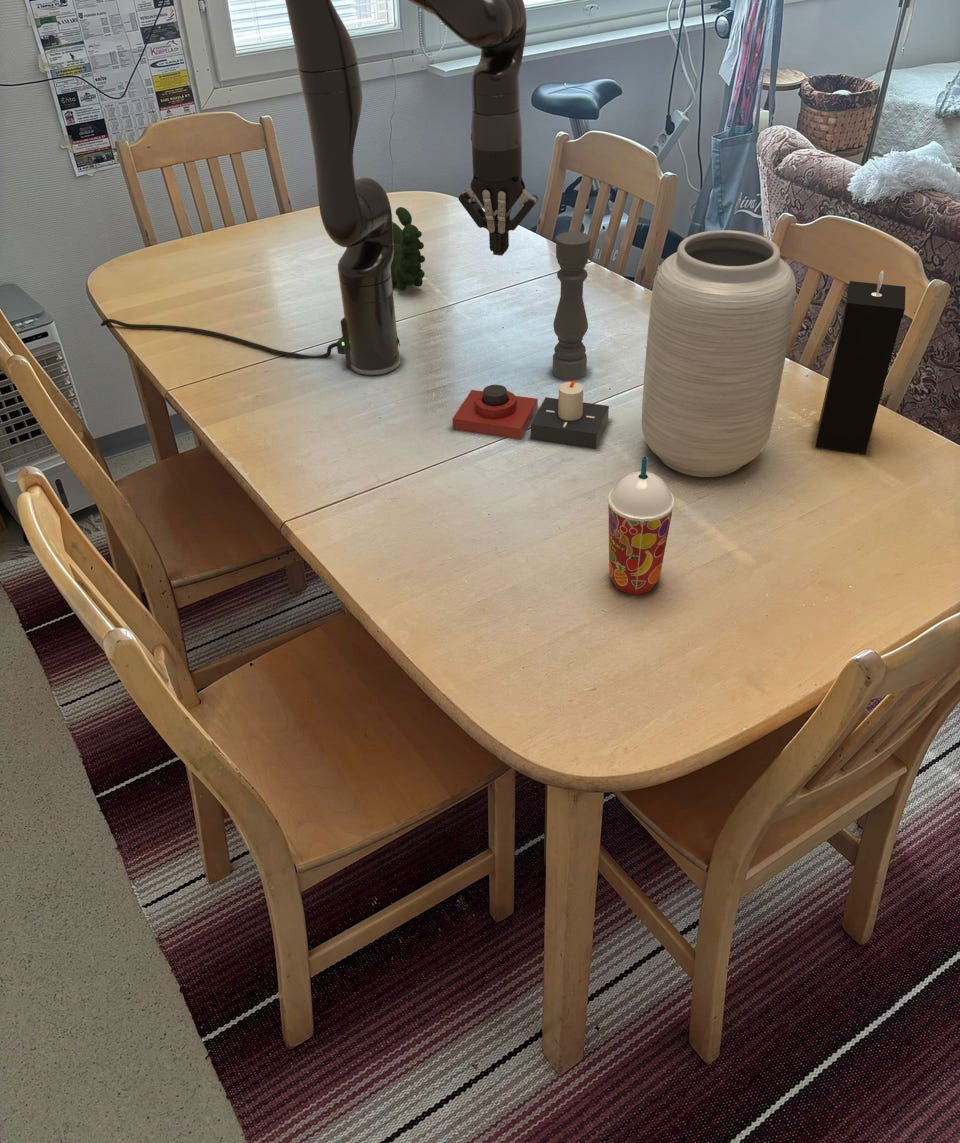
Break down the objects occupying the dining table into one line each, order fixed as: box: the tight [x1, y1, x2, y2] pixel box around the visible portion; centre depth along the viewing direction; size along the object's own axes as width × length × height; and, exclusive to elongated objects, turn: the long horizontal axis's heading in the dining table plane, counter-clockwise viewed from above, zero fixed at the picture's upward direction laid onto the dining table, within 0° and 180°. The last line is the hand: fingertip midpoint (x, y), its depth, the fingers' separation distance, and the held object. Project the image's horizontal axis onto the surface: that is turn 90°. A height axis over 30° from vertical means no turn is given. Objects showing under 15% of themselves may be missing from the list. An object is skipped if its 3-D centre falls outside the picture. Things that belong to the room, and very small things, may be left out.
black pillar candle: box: [814, 270, 906, 455], centre depth 147 cm, size 8×8×28 cm
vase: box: [641, 229, 797, 478], centre depth 144 cm, size 20×20×34 cm
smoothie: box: [607, 456, 676, 595], centre depth 125 cm, size 8×8×20 cm
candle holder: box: [552, 231, 591, 382], centre depth 168 cm, size 6×6×25 cm
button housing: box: [452, 389, 539, 441], centre depth 163 cm, size 12×10×4 cm
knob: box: [557, 380, 584, 421], centre depth 158 cm, size 4×4×5 cm
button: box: [482, 384, 508, 406], centre depth 162 cm, size 4×4×2 cm
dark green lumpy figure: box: [391, 206, 426, 292], centre depth 205 cm, size 9×19×25 cm
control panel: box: [530, 396, 610, 450], centre depth 160 cm, size 11×9×3 cm
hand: (499, 253), depth 156 cm, fingers closed
